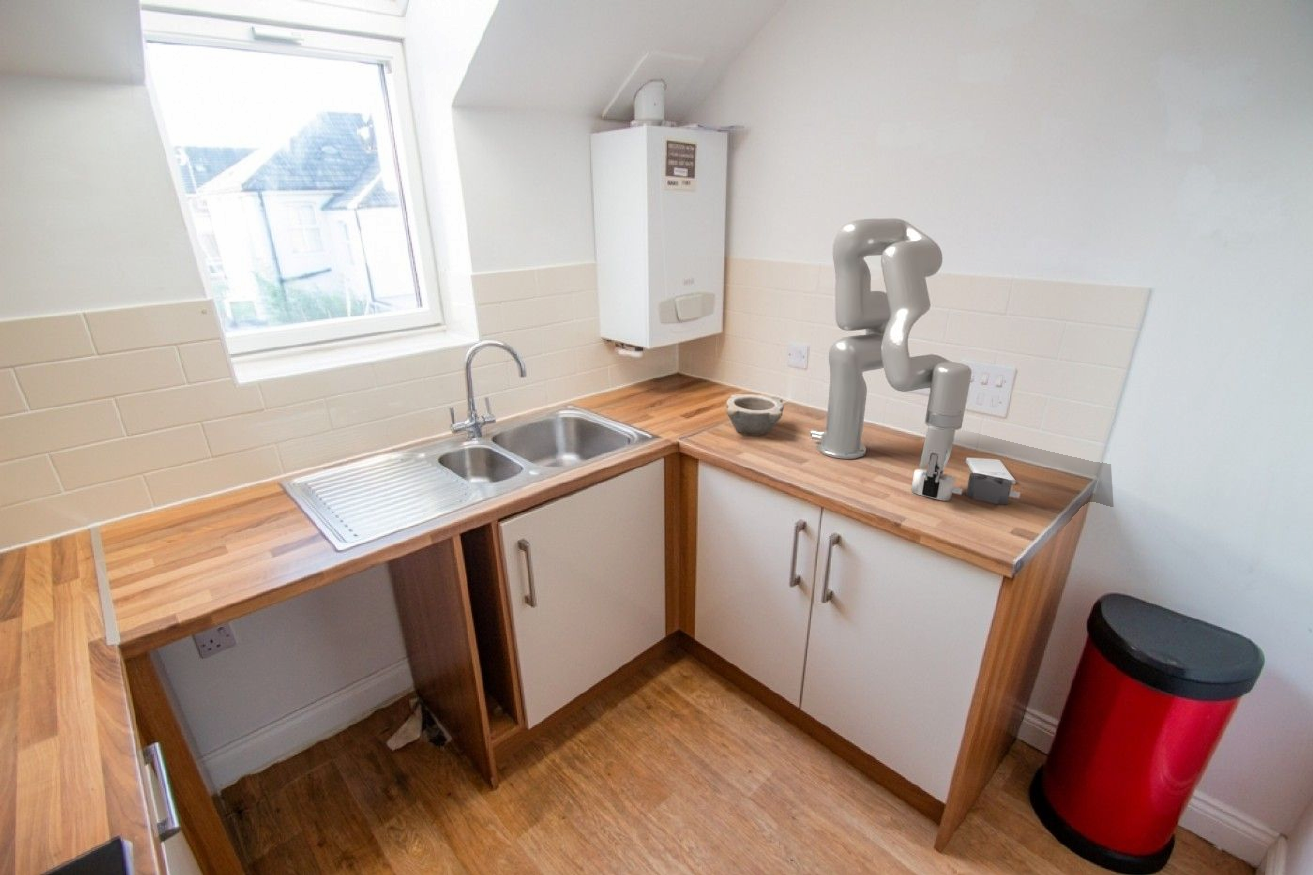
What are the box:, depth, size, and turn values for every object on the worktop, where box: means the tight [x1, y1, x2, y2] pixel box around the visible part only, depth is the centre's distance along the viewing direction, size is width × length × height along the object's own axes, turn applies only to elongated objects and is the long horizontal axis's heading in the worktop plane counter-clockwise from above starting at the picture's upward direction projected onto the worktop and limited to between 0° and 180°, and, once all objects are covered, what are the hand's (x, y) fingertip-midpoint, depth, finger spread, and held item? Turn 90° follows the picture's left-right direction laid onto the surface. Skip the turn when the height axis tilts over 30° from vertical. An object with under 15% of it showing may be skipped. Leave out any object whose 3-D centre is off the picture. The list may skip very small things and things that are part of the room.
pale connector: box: [910, 468, 964, 502], centre depth 139 cm, size 11×4×5 cm, turn 56°
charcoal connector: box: [965, 472, 1021, 506], centre depth 137 cm, size 11×4×5 cm, turn 56°
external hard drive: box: [965, 457, 1017, 485], centre depth 151 cm, size 2×8×12 cm
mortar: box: [725, 393, 785, 437], centre depth 179 cm, size 17×17×9 cm
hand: (931, 491), depth 140 cm, fingers closed on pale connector, 3 cm apart
